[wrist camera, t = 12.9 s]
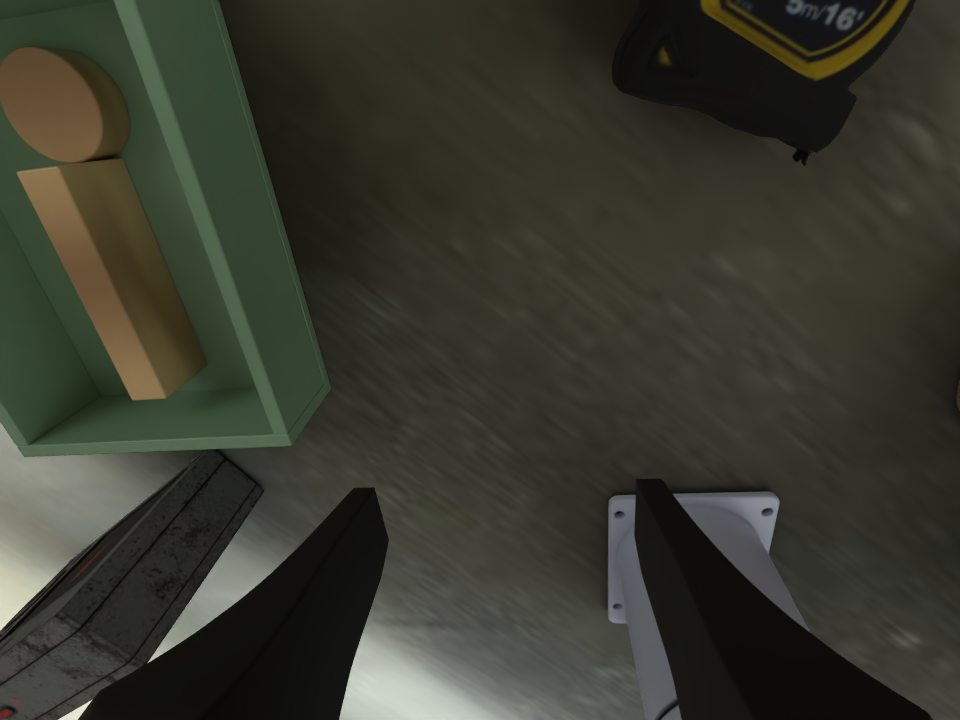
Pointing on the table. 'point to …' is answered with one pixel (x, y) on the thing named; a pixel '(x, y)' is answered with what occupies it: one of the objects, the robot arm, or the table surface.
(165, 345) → the spoon
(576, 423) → the table surface
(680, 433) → the table surface
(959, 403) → the mushroom
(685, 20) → the tape measure
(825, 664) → the robot arm
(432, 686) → the table surface
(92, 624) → the camera
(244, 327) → the green storage tray
